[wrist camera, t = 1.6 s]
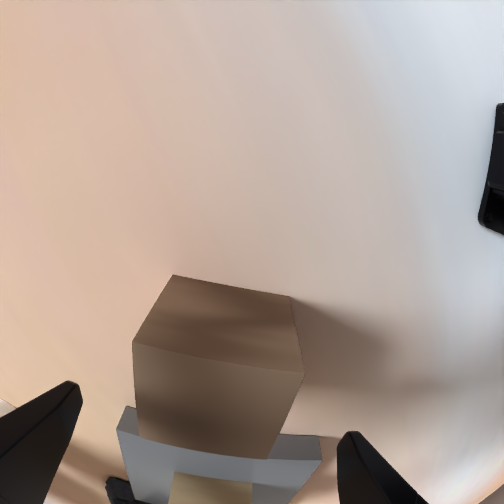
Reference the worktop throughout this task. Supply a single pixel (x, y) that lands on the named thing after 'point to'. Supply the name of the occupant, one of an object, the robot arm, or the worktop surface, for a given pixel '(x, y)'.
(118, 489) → the dark slate chunk
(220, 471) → the base
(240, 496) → the oak block
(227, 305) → the walnut block
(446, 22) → the worktop surface
